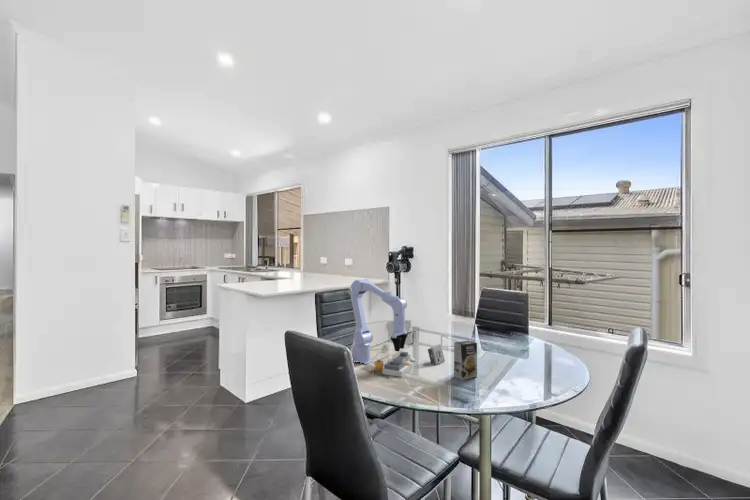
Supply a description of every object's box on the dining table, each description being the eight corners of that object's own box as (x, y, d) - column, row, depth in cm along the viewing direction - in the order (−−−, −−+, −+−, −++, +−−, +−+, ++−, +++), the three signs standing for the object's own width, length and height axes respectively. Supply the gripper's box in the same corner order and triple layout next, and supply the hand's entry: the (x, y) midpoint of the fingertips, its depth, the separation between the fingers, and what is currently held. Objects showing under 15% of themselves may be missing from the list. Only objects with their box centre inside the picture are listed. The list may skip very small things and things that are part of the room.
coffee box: (462, 380, 167) (462, 344, 167) (453, 376, 172) (453, 342, 173) (477, 377, 171) (477, 342, 171) (468, 373, 177) (468, 340, 177)
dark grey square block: (395, 363, 184) (395, 358, 184) (397, 361, 187) (397, 356, 187) (401, 364, 183) (401, 359, 183) (403, 362, 186) (403, 357, 186)
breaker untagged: (400, 357, 190) (400, 352, 190) (402, 356, 193) (402, 351, 193) (405, 358, 189) (405, 353, 189) (407, 356, 192) (407, 352, 192)
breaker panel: (382, 374, 176) (382, 363, 176) (399, 362, 196) (399, 353, 196) (401, 376, 172) (401, 366, 172) (417, 364, 191) (417, 355, 192)
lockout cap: (373, 370, 181) (373, 360, 181) (377, 368, 185) (377, 358, 185) (381, 371, 179) (381, 361, 180) (384, 369, 183) (384, 359, 183)
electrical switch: (436, 365, 190) (435, 347, 191) (428, 364, 193) (426, 347, 194) (445, 361, 197) (443, 344, 198) (436, 361, 200) (435, 343, 201)
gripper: (401, 325, 177) (401, 353, 177) (411, 321, 190) (411, 347, 190) (388, 324, 180) (388, 352, 180) (399, 320, 193) (399, 346, 193)
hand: (399, 349), depth 185 cm, fingers open, 5 cm apart
